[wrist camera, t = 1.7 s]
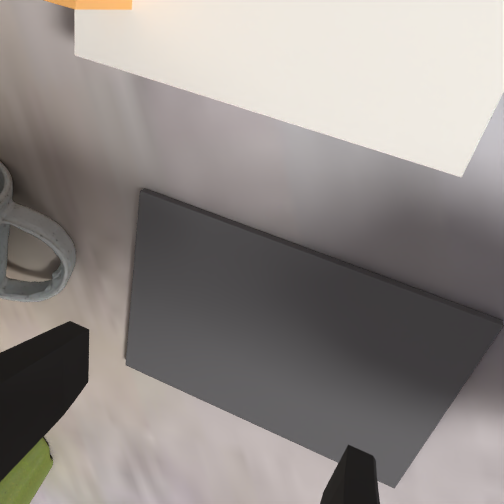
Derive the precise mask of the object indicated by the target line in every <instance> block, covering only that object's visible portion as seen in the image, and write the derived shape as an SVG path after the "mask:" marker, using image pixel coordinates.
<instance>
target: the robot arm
mask: <svg viewBox="0 0 504 504" xmlns="http://www.w3.org/2000/svg"><path fill="white" fill-rule="evenodd" d="M88 369H89V329H87V328H85V327H82V326H80V325H78V324H76V323H73V322H71V321H69V322H67V323H65V324H62V325H60V326H58V327H56V328H53V329H51V330H49V331H47V332H45V333H43V334H40V335H38V336H36V337H34V338H32V339H30V340H27V341H25V342H23V343H21V344H19V345H17V346H14V347H12V348H10V349H8V350H5V351H3V352H1V353H0V482H1V481H2V480H3V479H4V478H5V477H6V476H7V474H8V473H9V472H10V471H11V470H12V469H13V468H14V467H15V466H16V465H17V464H18V463H19V462H20V461H21V460H22V459H23V458H24V457H25V455H26V454H27V453H28V452H29V451H30V450H31V449H32V448H33V447H34V446H35V445H36V444H37V443H38V442H39V441H40V440H41V439H42V438H43V436H44V435H45V434H46V433H47V432H48V431H49V430H50V429H51V428H52V427H53V426H54V425H55V424H56V423H57V422H58V420H59V419H60V418H61V417H62V416H63V415H64V414H65V412H66V411H67V410H68V409H69V407H70V406H71V405H72V403H73V402H74V401H75V399H76V398H77V397H78V395H79V394H80V393H81V391H82V390H83V388H84V387H85V386H86V384H87V383H88ZM320 504H380V501H379V492H378V483H377V471H376V460H375V458H374V456H373V455H371V454H369V453H366V452H364V451H362V450H360V449H357V448H355V447H353V446H351V445H348V446H347V448H346V450H345V452H344V453H343V455H342V457H341V459H340V461H339V463H338V465H337V467H336V469H335V471H334V473H333V475H332V477H331V479H330V481H329V482H328V484H327V486H326V488H325V490H324V492H323V496H322V499H321V503H320Z"/></svg>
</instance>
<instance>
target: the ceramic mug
mask: <svg viewBox="0 0 504 504" xmlns="http://www.w3.org/2000/svg"><path fill="white" fill-rule="evenodd" d="M12 196H13V183H12V178H11V175H10V173H9V171H8V169H7V168H6V167H5V166H4V165H3V164H2V163H1V162H0V298H2V299H7V300H12V301H20V302H39V301H43V300H46V299H49V298H51V297H53V296H55V295H56V294H58V293H59V292H60V291H61V290H63V288H64V287H65V285H66V283H67V282H68V280H69V278H70V276H71V273H72V271H73V269H74V266H75V262H76V250H75V247H74V243H73V241H72V239H71V238H70V236H69V235H68V234H67V232H66V231H65V230H64V229H63V228H62V227H61V226H60V225H58V224H57V223H56V222H55V221H54V220H52V219H51V218H49V217H47V216H45V215H43V214H41V213H39V212H37V211H35V210H33V209H30V208H28V207H26V206H23V205H20V204H17V203H15V202H13V201H12ZM10 224H11V225H13V226H15V227H17V228H19V229H21V230H23V231H25V232H27V233H29V234H31V235H33V236H35V237H37V238H39V239H40V240H42V241H43V242H44V243H46V244H47V245H48V246H49V247H51V248H52V249H53V251H54V252H55V254H56V255H57V256H58V257H59V258H60V260H61V264H60V266H59V268H58V270H56V271H55V272H54V273H53V274H52V279H51V280H48V281H44V282H35V281H34V282H27V281H20V280H15V279H10V278H7V277H6V268H7V256H8V237H9V229H10Z"/></svg>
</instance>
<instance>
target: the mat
mask: <svg viewBox="0 0 504 504" xmlns="http://www.w3.org/2000/svg"><path fill="white" fill-rule="evenodd" d="M503 326H504V325H503V321H502V320H500V319H497V318H495V317H492V316H489V315H487V314H484V313H481V312H478V311H476V310H473V309H470V308H468V307H465V306H462V305H459V304H457V303H454V302H451V301H449V300H446V299H443V298H440V297H438V296H435V295H432V294H430V293H427V292H424V291H421V290H419V289H416V288H413V287H411V286H408V285H405V284H403V283H400V282H397V281H394V280H392V279H389V278H386V277H384V276H381V275H378V274H375V273H373V272H370V271H367V270H365V269H362V268H359V267H356V266H354V265H351V264H348V263H346V262H343V261H340V260H337V259H335V258H332V257H329V256H327V255H324V254H321V253H319V252H316V251H313V250H310V249H308V248H305V247H302V246H300V245H297V244H294V243H291V242H289V241H286V240H283V239H281V238H278V237H275V236H272V235H270V234H267V233H264V232H262V231H259V230H256V229H254V228H251V227H248V226H245V225H243V224H240V223H237V222H235V221H232V220H229V219H226V218H224V217H221V216H218V215H216V214H213V213H210V212H207V211H205V210H202V209H199V208H197V207H194V206H191V205H188V204H186V203H183V202H180V201H178V200H175V199H172V198H170V197H167V196H164V195H161V194H159V193H156V192H153V191H151V190H148V189H145V188H144V189H143V190H141V191H140V198H139V210H138V222H137V234H136V246H135V258H134V270H133V282H132V294H131V306H130V318H129V330H128V342H127V354H126V365H127V366H129V367H131V368H133V369H135V370H137V371H140V372H142V373H144V374H146V375H148V376H150V377H153V378H155V379H157V380H159V381H161V382H164V383H166V384H168V385H170V386H172V387H174V388H177V389H179V390H181V391H183V392H185V393H188V394H190V395H192V396H194V397H196V398H198V399H201V400H203V401H205V402H207V403H209V404H212V405H214V406H216V407H218V408H220V409H222V410H225V411H227V412H229V413H231V414H233V415H235V416H238V417H240V418H242V419H244V420H246V421H249V422H251V423H253V424H255V425H257V426H259V427H262V428H264V429H266V430H268V431H270V432H273V433H275V434H277V435H279V436H281V437H283V438H286V439H288V440H290V441H292V442H294V443H297V444H299V445H301V446H303V447H305V448H307V449H310V450H312V451H314V452H316V453H318V454H320V455H323V456H325V457H327V458H329V459H331V460H334V461H336V462H338V463H339V461H340V459H341V457H342V455H343V453H344V452H345V450H346V448H347V446H348V445H351V446H353V447H355V448H357V449H360V450H362V451H364V452H366V453H369V454H371V455H373V456H374V458H375V460H376V471H377V481H379V482H382V483H384V484H386V485H388V486H390V487H392V488H395V487H396V485H397V484H398V482H399V481H400V479H401V478H402V476H403V475H404V473H405V472H406V470H407V469H408V467H409V466H410V464H411V463H412V462H413V460H414V459H415V457H416V456H417V454H418V453H419V451H420V450H421V448H422V447H423V445H424V444H425V442H426V441H427V439H428V438H429V436H430V435H431V433H432V432H433V430H434V429H435V427H436V426H437V424H438V423H439V421H440V420H441V418H442V417H443V415H444V414H445V412H446V411H447V409H448V408H449V406H450V405H451V403H452V402H453V401H454V399H455V398H456V396H457V395H458V393H459V392H460V390H461V389H462V387H463V386H464V384H465V383H466V381H467V380H468V378H469V377H470V375H471V374H472V372H473V371H474V369H475V368H476V366H477V365H478V363H479V362H480V360H481V359H482V357H483V356H484V354H485V353H486V351H487V350H488V348H489V347H490V345H491V344H492V342H493V341H494V340H495V338H496V337H497V335H498V334H499V332H500V331H501V329H502V328H503Z"/></svg>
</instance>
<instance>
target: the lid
mask: <svg viewBox="0 0 504 504" xmlns="http://www.w3.org/2000/svg"><path fill="white" fill-rule="evenodd" d="M45 1H48V2H51V3H55V4H58V5H62V6H65V7H69V8H72V9H75V56H78V57H81V58H85V59H88V60H91V61H94V62H97V63H100V64H104V65H107V66H110V67H113V68H116V69H119V70H123V71H126V72H129V73H132V74H135V75H138V76H142V77H145V78H148V79H151V80H154V81H158V82H161V83H164V84H167V85H170V86H173V87H177V88H180V89H183V90H186V91H189V92H192V93H196V94H199V95H202V96H205V97H208V98H211V99H215V100H218V101H221V102H224V103H227V104H230V105H234V106H237V107H240V108H243V109H246V110H249V111H253V112H256V113H259V114H262V115H265V116H268V117H272V118H275V119H278V120H281V121H284V122H287V123H291V124H294V125H297V126H300V127H303V128H306V129H310V130H313V131H316V132H319V133H322V134H326V135H329V136H332V137H335V138H338V139H341V140H345V141H348V142H351V143H354V144H357V145H360V146H364V147H367V148H370V149H373V150H376V151H379V152H383V153H386V154H389V155H392V156H395V157H398V158H402V159H405V160H408V161H411V162H414V163H417V164H421V165H424V166H427V167H430V168H433V169H436V170H440V171H443V172H446V173H449V174H452V175H455V176H459V177H462V175H463V173H464V171H465V169H466V167H467V165H468V163H469V161H470V159H471V157H472V155H473V153H474V151H475V149H476V147H477V145H478V143H479V141H480V139H481V137H482V135H483V133H484V131H485V129H486V127H487V125H488V123H489V120H490V118H491V116H492V114H493V112H494V110H495V108H496V106H497V104H498V102H499V100H500V98H501V96H502V94H503V92H504V0H45Z"/></svg>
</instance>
